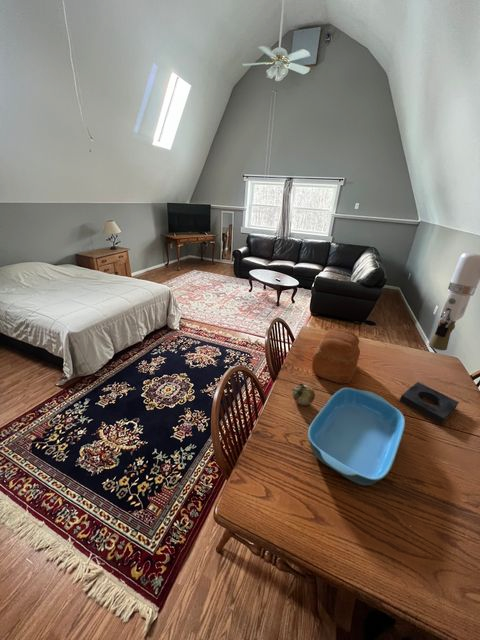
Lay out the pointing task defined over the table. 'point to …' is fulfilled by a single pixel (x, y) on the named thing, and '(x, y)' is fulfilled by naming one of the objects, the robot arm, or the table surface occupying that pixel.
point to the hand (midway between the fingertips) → (443, 333)
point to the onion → (303, 394)
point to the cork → (442, 338)
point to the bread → (336, 356)
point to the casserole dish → (357, 435)
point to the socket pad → (433, 412)
